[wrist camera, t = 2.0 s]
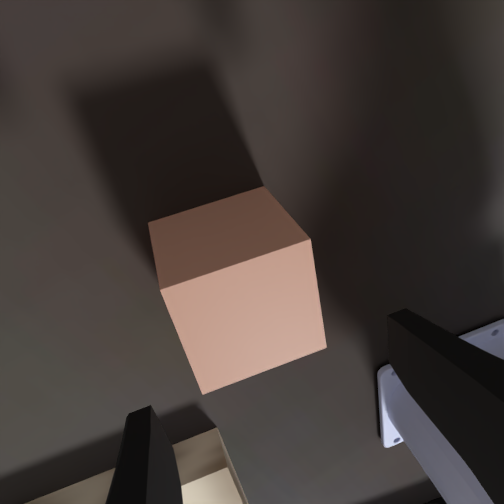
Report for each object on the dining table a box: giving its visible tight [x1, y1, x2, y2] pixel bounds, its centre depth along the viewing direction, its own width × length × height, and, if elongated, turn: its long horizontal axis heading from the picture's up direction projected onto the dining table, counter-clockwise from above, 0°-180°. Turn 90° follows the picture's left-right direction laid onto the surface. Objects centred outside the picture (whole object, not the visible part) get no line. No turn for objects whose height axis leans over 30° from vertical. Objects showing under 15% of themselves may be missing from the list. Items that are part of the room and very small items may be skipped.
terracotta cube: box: [148, 186, 327, 394], centre depth 17 cm, size 5×5×5 cm
